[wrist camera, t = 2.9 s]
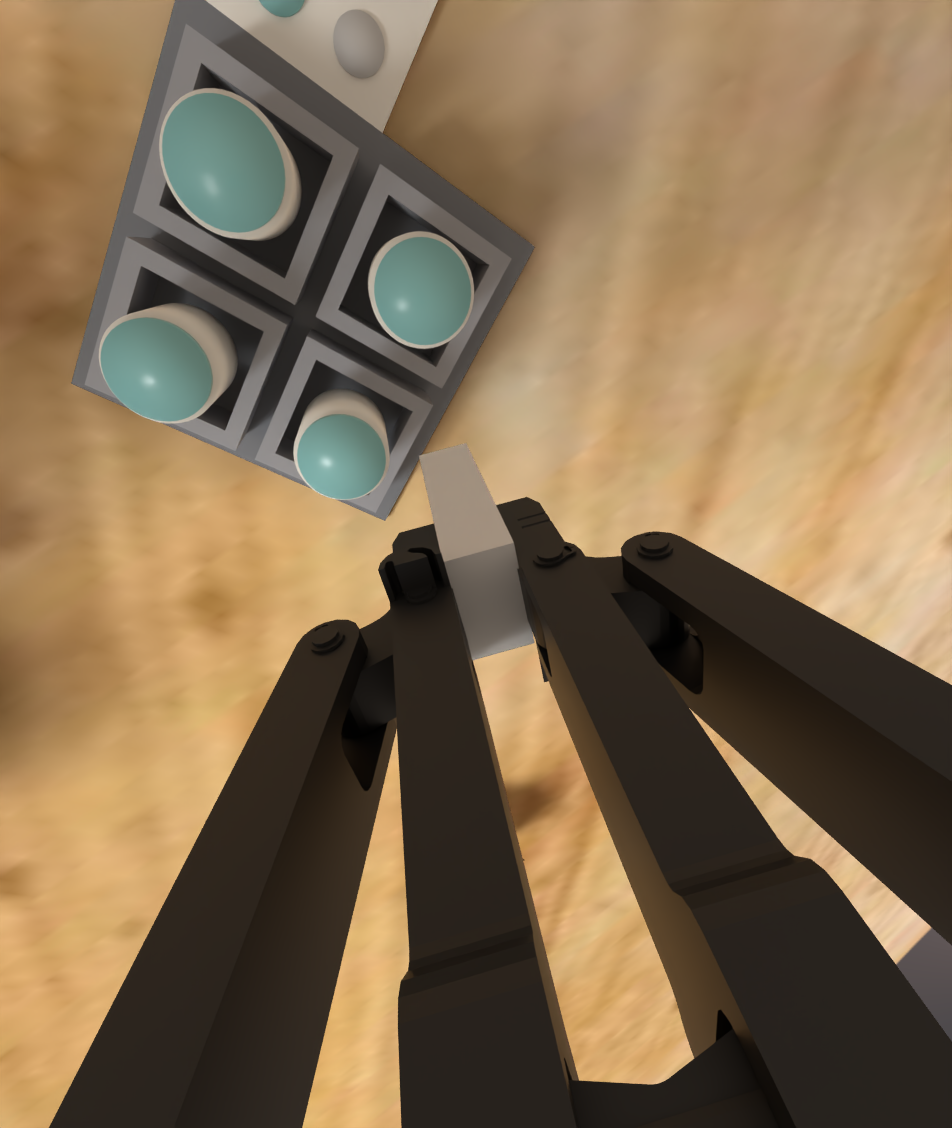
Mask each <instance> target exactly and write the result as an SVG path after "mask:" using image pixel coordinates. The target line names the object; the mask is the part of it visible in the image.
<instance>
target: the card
mask: <svg viewBox="0 0 952 1128" xmlns="http://www.w3.org/2000/svg"><path fill="white" fill-rule="evenodd" d="M206 1H207V2H208V3H209V4H211V5H212V6H213V7H215V8H216V9H217V10H219V11H220V12H221V13H223V14H224V15H225V16H227V17H228V18H230V19H231V20H232V21H234V22H235V23H236V24H238V25H239V26H240V27H242V28H243V29H244V30H246V31H247V32H248V33H250V34H251V35H252V36H254V37H255V38H256V39H258V40H259V41H260V42H262V43H263V44H264V45H266V46H267V47H268V48H270V49H271V50H272V51H274V52H275V53H276V54H278V55H279V56H280V57H282V58H283V59H284V60H286V61H287V62H288V63H290V64H291V65H292V66H294V67H295V68H296V69H298V70H299V71H300V72H302V73H303V74H304V75H306V76H307V77H308V78H310V79H311V80H312V81H314V82H315V83H316V84H318V85H319V86H320V87H322V88H323V89H324V90H326V91H327V92H328V93H330V94H331V95H332V96H334V97H335V98H336V99H338V100H339V101H340V102H342V103H343V104H345V105H346V106H347V107H349V108H350V109H351V110H353V111H354V112H355V113H357V114H358V115H359V116H361V117H362V118H363V119H365V120H366V121H367V122H369V123H370V124H371V125H373V126H374V127H375V128H377V129H378V130H379V131H381V132H382V133H383V131H384V129H385V126H386V124H387V121H388V119H389V117H390V114H391V112H392V109H393V107H394V105H395V102H396V100H397V97H398V95H399V93H400V90H401V88H402V85H403V83H404V81H405V78H406V76H407V73H408V71H409V69H410V66H411V64H412V62H413V59H414V57H415V54H416V52H417V50H418V47H419V45H420V42H421V40H422V38H423V35H424V33H425V30H426V28H427V26H428V23H429V21H430V18H431V16H432V14H433V11H434V9H435V6H436V4H437V2H438V0H206Z"/></svg>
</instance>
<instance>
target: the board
mask: <svg viewBox="0 0 952 1128" xmlns="http://www.w3.org/2000/svg"><path fill="white" fill-rule="evenodd" d="M203 88H216V89H223V90H226V91H229V92H232V93H235V94H237V95H239V96H241V97H243V98H244V99H246V100H248V101H249V102H250V103H252V104H253V105H254V106H255V107H257V108H258V109H259V110H260V111H261V112H262V113H263V114H264V115H265V116H266V117H267V119H268V120H269V121H270V122H271V124H272V125H273V126H274V128H275V129H276V131H277V132H278V134H279V135H280V137H281V138H282V140H283V141H284V143H285V144H286V146H287V147H288V149H289V150H290V152H291V154H292V156H293V157H294V159H295V162H296V164H297V167H298V170H299V174H300V178H301V186H302V198H301V204H300V208H299V212H298V214H297V216H296V219H295V220H294V222H293V223H292V225H291V226H290V227H289V228H288V229H287V230H286V231H285V232H284V233H283V234H281V235H279V236H277V237H275V238H273V239H269V240H264V241H254V240H244V239H235V238H229V237H224V236H221V235H219V234H216V233H214V232H212V231H210V230H208V229H206V228H205V227H203V226H202V225H200V224H199V223H198V222H196V221H195V220H194V219H193V218H192V217H191V216H190V215H189V214H188V213H187V212H186V211H185V210H184V209H183V208H182V207H181V205H180V204H179V203H178V201H177V200H176V198H175V197H174V195H173V194H172V192H171V190H170V188H169V186H168V184H167V181H166V179H165V176H164V173H163V169H162V166H161V160H160V152H159V140H160V132H161V127H162V124H163V121H164V119H165V116H166V114H167V113H168V111H169V109H170V108H171V107H172V105H173V104H174V103H175V102H176V101H177V100H178V99H179V98H181V97H182V96H184V95H185V94H187V93H189V92H192V91H194V90H198V89H203ZM416 231H423V232H430V233H434V234H437V235H439V236H441V237H443V238H445V239H447V240H448V241H449V242H451V243H452V244H453V245H454V246H455V247H456V248H457V249H458V250H459V251H460V252H461V254H462V255H463V256H464V258H465V260H466V262H467V263H468V266H469V268H470V271H471V274H472V278H473V284H474V301H473V307H472V310H471V313H470V316H469V318H468V320H467V322H466V324H465V326H464V327H463V329H462V330H461V331H460V332H459V333H458V334H457V335H456V336H455V337H454V338H453V339H451V340H450V341H449V342H447V343H445V344H443V345H440V346H438V347H434V348H427V349H421V348H414V347H410V346H407V345H404V344H402V343H400V342H398V341H397V340H395V339H394V338H393V337H391V336H390V335H389V334H388V333H387V332H386V331H385V330H384V329H383V327H382V326H381V324H380V323H379V322H378V320H377V318H376V316H375V314H374V311H373V308H372V305H371V301H370V297H369V292H368V273H369V268H370V265H371V262H372V260H373V258H374V256H375V254H376V253H377V252H378V250H379V249H380V248H381V247H382V246H383V245H384V244H385V243H386V242H388V241H389V240H391V239H393V238H395V237H398V236H400V235H403V234H405V233H409V232H416ZM534 248H535V247H534V246H533V245H532V244H530V243H529V242H528V241H526V240H525V239H524V238H522V237H521V236H520V235H518V234H517V233H516V232H514V231H513V230H512V229H510V228H509V227H508V226H506V225H505V224H504V223H502V222H501V221H500V220H498V219H497V218H496V217H494V216H493V215H492V214H490V213H489V212H488V211H486V210H485V209H484V208H482V207H481V206H480V205H478V204H477V203H476V202H474V201H473V200H472V199H470V198H469V197H468V196H466V195H465V194H464V193H462V192H461V191H460V190H458V189H457V188H455V187H454V186H453V185H451V184H450V183H449V182H447V181H446V180H445V179H443V178H442V177H441V176H439V175H438V174H437V173H435V172H434V171H433V170H431V169H430V168H429V167H427V166H426V165H425V164H423V163H422V162H421V161H419V160H418V159H417V158H415V157H414V156H413V155H411V154H410V153H409V152H407V151H406V150H405V149H403V148H402V147H401V146H399V145H398V144H397V143H395V142H394V141H393V140H391V139H390V138H389V137H387V136H386V135H385V134H383V133H382V132H381V131H379V130H378V129H377V128H375V127H374V126H373V125H371V124H370V123H369V122H367V121H366V120H365V119H363V118H362V117H361V116H359V115H358V114H357V113H355V112H354V111H353V110H351V109H350V108H349V107H347V106H346V105H345V104H343V103H342V102H340V101H339V100H338V99H336V98H335V97H334V96H332V95H331V94H330V93H328V92H327V91H326V90H324V89H323V88H322V87H320V86H319V85H318V84H316V83H315V82H314V81H312V80H311V79H310V78H308V77H307V76H306V75H304V74H303V73H302V72H300V71H299V70H298V69H296V68H295V67H294V66H292V65H291V64H290V63H288V62H287V61H286V60H284V59H283V58H282V57H280V56H279V55H278V54H276V53H275V52H274V51H272V50H271V49H270V48H268V47H267V46H266V45H264V44H263V43H262V42H260V41H259V40H258V39H256V38H255V37H254V36H252V35H251V34H250V33H248V32H247V31H246V30H244V29H243V28H242V27H240V26H239V25H238V24H236V23H235V22H234V21H232V20H231V19H230V18H228V17H227V16H225V15H224V14H223V13H221V12H220V11H219V10H217V9H216V8H215V7H213V6H212V5H211V4H209V3H208V2H207V1H205V0H175V3H174V6H173V10H172V14H171V18H170V21H169V25H168V29H167V32H166V36H165V40H164V43H163V47H162V51H161V54H160V58H159V62H158V65H157V69H156V73H155V77H154V80H153V84H152V88H151V91H150V95H149V99H148V102H147V106H146V110H145V113H144V117H143V121H142V124H141V128H140V132H139V135H138V139H137V143H136V147H135V150H134V154H133V158H132V161H131V165H130V169H129V172H128V176H127V180H126V183H125V187H124V191H123V194H122V198H121V202H120V206H119V209H118V213H117V217H116V220H115V224H114V228H113V231H112V235H111V239H110V242H109V246H108V250H107V253H106V257H105V261H104V264H103V268H102V272H101V276H100V279H99V283H98V287H97V290H96V294H95V298H94V301H93V305H92V309H91V312H90V316H89V320H88V323H87V327H86V331H85V335H84V338H83V342H82V346H81V349H80V353H79V357H78V360H77V364H76V368H75V371H74V375H73V379H72V382H71V384H73V385H76V386H78V387H80V388H82V389H85V390H87V391H89V392H92V393H94V394H96V395H98V396H101V397H103V398H105V399H108V400H110V401H112V402H115V403H117V404H119V405H121V406H124V407H126V406H125V405H124V404H123V403H122V402H121V401H120V400H119V399H118V398H117V397H116V396H115V395H114V394H113V392H112V391H111V390H110V388H109V387H108V385H107V383H106V381H105V379H104V377H103V374H102V372H101V368H100V363H99V347H100V342H101V339H102V337H103V335H104V333H105V331H106V330H107V328H108V327H109V326H110V325H111V324H112V323H113V322H114V321H116V320H117V319H119V318H121V317H122V316H125V315H128V314H130V313H134V312H138V311H142V310H145V309H149V308H153V307H156V306H160V305H164V304H168V303H185V304H190V305H193V306H196V307H199V308H201V309H203V310H205V311H207V312H208V313H210V314H211V315H213V316H214V317H215V318H216V319H217V320H218V321H220V322H221V323H222V325H223V326H224V327H225V328H226V330H227V331H228V332H229V334H230V336H231V338H232V340H233V342H234V344H235V347H236V351H237V357H238V366H237V372H236V375H235V378H234V380H233V382H232V383H231V385H230V386H229V387H228V388H227V389H226V390H225V391H224V392H223V393H222V394H221V395H220V397H219V398H218V399H217V400H216V401H215V402H214V403H213V404H212V405H211V406H210V407H209V408H208V409H207V410H206V411H205V412H204V413H203V414H201V415H200V416H199V417H197V418H195V419H193V420H190V421H187V422H183V423H175V424H172V423H163V424H165V425H167V426H169V427H172V428H174V429H176V430H179V431H181V432H183V433H185V434H188V435H190V436H192V437H195V438H197V439H199V440H201V441H204V442H206V443H208V444H211V445H213V446H215V447H217V448H220V449H222V450H224V451H227V452H229V453H231V454H233V455H236V456H238V457H240V458H243V459H245V460H247V461H249V462H252V463H254V464H256V465H259V466H261V467H263V468H265V469H268V470H270V471H272V472H275V473H277V474H279V475H281V476H284V477H286V478H288V479H291V480H293V481H295V482H297V483H300V484H302V485H304V486H307V487H309V486H308V485H307V484H306V483H305V481H304V480H303V479H302V477H301V476H300V474H299V472H298V471H297V468H296V465H295V461H294V454H293V451H294V443H295V439H296V436H297V433H298V430H299V427H300V424H301V421H302V418H303V415H304V413H305V410H306V408H307V406H308V405H309V404H310V402H311V401H312V400H313V399H314V398H315V397H317V396H318V395H319V394H321V393H323V392H325V391H328V390H332V389H339V388H342V389H351V390H354V391H357V392H360V393H362V394H363V395H365V396H367V397H368V398H369V399H371V400H372V401H373V402H374V403H375V404H376V406H377V407H378V408H379V410H380V412H381V413H382V416H383V418H384V422H385V427H386V433H387V440H388V446H389V453H390V461H389V467H388V471H387V473H386V476H385V477H384V479H383V481H382V482H381V483H380V485H379V486H378V487H377V488H376V489H374V490H373V491H372V492H370V493H369V494H367V495H365V496H362V497H360V498H356V499H351V500H339V501H341V502H343V503H345V504H348V505H350V506H352V507H355V508H357V509H359V510H361V511H364V512H366V513H368V514H371V515H373V516H375V517H377V518H380V519H382V520H384V521H385V520H386V518H387V516H388V515H389V513H390V511H391V509H392V507H393V506H394V504H395V502H396V500H397V498H398V496H399V495H400V493H401V491H402V489H403V487H404V485H405V484H406V482H407V480H408V478H409V476H410V474H411V473H412V471H413V469H414V467H415V465H416V463H417V462H418V460H419V455H421V454H422V453H423V451H424V449H425V447H426V445H427V443H428V442H429V440H430V438H431V436H432V434H433V432H434V431H435V429H436V427H437V425H438V423H439V421H440V420H441V418H442V416H443V414H444V412H445V410H446V409H447V407H448V405H449V403H450V401H451V400H452V398H453V396H454V394H455V392H456V390H457V389H458V387H459V385H460V383H461V381H462V379H463V378H464V376H465V374H466V372H467V370H468V368H469V367H470V365H471V363H472V361H473V359H474V357H475V356H476V354H477V352H478V350H479V348H480V347H481V345H482V343H483V341H484V339H485V337H486V336H487V334H488V332H489V330H490V328H491V326H492V325H493V323H494V321H495V319H496V317H497V315H498V314H499V312H500V310H501V308H502V306H503V304H504V303H505V301H506V299H507V297H508V295H509V293H510V292H511V290H512V288H513V286H514V284H515V283H516V281H517V279H518V277H519V275H520V273H521V272H522V270H523V268H524V266H525V264H526V262H527V261H528V259H529V257H530V255H531V253H532V251H533V250H534ZM126 408H128V407H126ZM128 409H129V408H128ZM160 423H161V422H160ZM309 488H311V487H309ZM311 489H312V488H311ZM336 500H338V499H336Z"/></svg>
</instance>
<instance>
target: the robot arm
mask: <svg viewBox="0 0 952 1128" xmlns="http://www.w3.org/2000/svg"><path fill="white" fill-rule="evenodd" d="M419 458H420V463H421V467H422V472H423V476H424V481H425V485H426V490H427V494H428V498H429V503H430V507H431V512H432V516H433V521H434V524H431V525H427V526H423V527H420V528H416V529H412V530H409V531H405V532H401V533H399V534H398V536H397V538H396V539H395V541H394V542H393V544H392V546H393V553H391V554H390V555H388V556H387V557H386V558H385V559H384V560H383V561H382V562H381V563H380V566H379V569H378V571H379V574H380V577H381V579H382V582H383V585H384V587H385V590H386V593H387V595H388V598H389V601H390V610H389V611H388V612H387V613H386V614H385V615H384V616H382V617H381V618H380V619H378V620H377V621H375V622H373V623H371V624H369V625H367V626H365V627H363V628H361V629H359V628H358V626H357V625H356V623H354V622H352V621H349V620H334V621H330V622H325V623H323V624H321V625H318V626H316V627H315V628H313V629H312V630H310V631H309V632H308V633H306V634H305V635H304V636H303V637H302V638H301V640H300V641H299V642H298V644H297V645H296V647H295V649H294V651H293V653H292V655H291V657H290V659H289V661H288V662H287V664H286V666H285V668H284V670H283V672H282V674H281V676H280V678H279V680H278V682H277V684H276V686H275V688H274V690H273V692H272V694H271V696H270V698H269V700H268V702H267V703H266V705H265V707H264V709H263V711H262V713H261V715H260V717H259V719H258V721H257V723H256V725H255V727H254V729H253V731H252V733H251V735H250V737H249V739H248V741H247V742H246V744H245V746H244V748H243V750H242V752H241V754H240V756H239V758H238V760H237V762H236V764H235V766H234V768H233V770H232V772H231V774H230V776H229V778H228V780H227V781H226V783H225V785H224V787H223V789H222V791H221V793H220V795H219V797H218V799H217V801H216V803H215V805H214V807H213V809H212V811H211V813H210V815H209V817H208V819H207V820H206V822H205V824H204V826H203V828H202V830H201V832H200V834H199V836H198V838H197V840H196V842H195V844H194V846H193V848H192V850H191V852H190V854H189V856H188V858H187V859H186V861H185V863H184V865H183V867H182V869H181V871H180V873H179V875H178V877H177V879H176V881H175V883H174V885H173V887H172V889H171V891H170V893H169V895H168V897H167V898H166V900H165V902H164V904H163V906H162V908H161V910H160V912H159V914H158V916H157V918H156V920H155V922H154V924H153V926H152V928H151V930H150V932H149V934H148V936H147V937H146V939H145V941H144V943H143V945H142V947H141V949H140V951H139V953H138V955H137V957H136V959H135V961H134V963H133V965H132V967H131V969H130V971H129V973H128V975H127V977H126V978H125V980H124V982H123V984H122V986H121V988H120V990H119V992H118V994H117V996H116V998H115V1000H114V1002H113V1004H112V1006H111V1008H110V1010H109V1012H108V1014H107V1016H106V1017H105V1019H104V1021H103V1023H102V1025H101V1027H100V1029H99V1031H98V1033H97V1035H96V1037H95V1039H94V1041H93V1043H92V1045H91V1047H90V1049H89V1051H88V1053H87V1055H86V1056H85V1058H84V1060H83V1062H82V1064H81V1066H80V1068H79V1070H78V1072H77V1074H76V1076H75V1078H74V1080H73V1082H72V1084H71V1086H70V1088H69V1090H68V1092H67V1094H66V1095H65V1097H64V1099H63V1101H62V1103H61V1105H60V1107H59V1109H58V1111H57V1113H56V1115H55V1117H54V1119H53V1121H52V1123H51V1125H50V1127H49V1128H302V1126H303V1122H304V1118H305V1113H306V1109H307V1105H308V1101H309V1097H310V1092H311V1088H312V1084H313V1080H314V1075H315V1071H316V1067H317V1063H318V1059H319V1054H320V1050H321V1046H322V1042H323V1037H324V1033H325V1029H326V1025H327V1021H328V1016H329V1012H330V1008H331V1004H332V999H333V995H334V991H335V987H336V983H337V978H338V974H339V970H340V966H341V961H342V957H343V953H344V949H345V945H346V940H347V936H348V932H349V928H350V924H351V919H352V915H353V911H354V907H355V902H356V898H357V894H358V890H359V886H360V881H361V877H362V873H363V869H364V864H365V860H366V856H367V852H368V848H369V843H370V839H371V835H372V831H373V826H374V822H375V818H376V814H377V810H378V805H379V801H380V797H381V793H382V788H383V784H384V780H385V776H386V772H387V767H388V763H389V759H390V755H391V750H392V746H393V742H394V738H395V734H396V729H397V736H398V754H399V772H400V790H401V808H402V826H403V844H404V862H405V880H406V898H407V916H408V934H409V968H408V972H407V973H406V975H405V976H404V978H403V979H402V980H401V984H400V990H399V997H398V1040H399V1069H400V1097H401V1125H402V1128H952V1041H951V1040H950V1039H949V1037H948V1036H947V1035H946V1033H945V1032H944V1030H943V1029H942V1028H941V1026H940V1025H939V1023H938V1022H937V1021H936V1019H935V1018H934V1017H933V1015H932V1014H931V1012H930V1011H929V1010H928V1008H927V1007H926V1006H925V1004H924V1003H923V1002H922V1000H921V999H920V997H919V996H918V995H917V993H916V992H915V990H914V989H913V988H912V986H911V985H910V983H909V982H908V981H907V980H906V978H905V977H904V975H903V974H902V972H901V971H900V970H899V968H898V967H897V966H896V964H895V963H894V961H893V960H892V959H891V957H890V956H889V955H888V953H887V952H886V950H885V949H884V948H883V946H882V945H881V944H880V942H879V941H878V939H877V938H876V937H875V935H874V934H873V933H872V931H871V930H870V928H869V927H868V926H867V924H866V923H865V922H864V920H863V919H862V917H861V916H860V915H859V913H858V912H857V911H856V909H855V908H854V906H853V905H852V904H851V902H850V901H849V900H848V898H847V897H846V895H845V894H844V893H843V891H842V890H841V889H840V888H839V886H838V885H837V884H836V883H835V882H834V881H833V879H832V878H831V877H830V876H829V875H828V873H827V872H826V871H825V870H824V869H823V868H821V867H820V866H819V865H818V864H816V863H815V862H814V861H813V860H811V859H808V858H803V857H798V856H794V855H793V854H792V853H790V852H789V851H788V850H787V849H786V848H785V847H784V845H783V844H782V843H781V842H780V840H779V839H778V838H777V836H776V835H775V833H774V832H773V830H772V829H771V828H770V826H769V825H768V823H767V822H766V820H765V819H764V817H763V816H762V814H761V813H760V811H759V810H758V808H757V807H756V806H755V804H754V803H753V801H752V800H751V798H750V797H749V795H748V794H747V792H746V791H745V789H744V788H743V787H742V785H741V784H740V782H739V781H738V779H737V778H736V776H735V775H734V773H733V772H732V770H731V769H730V767H729V766H728V765H727V763H726V762H725V760H724V759H723V757H722V756H721V754H720V753H719V751H718V750H717V748H716V747H715V746H714V744H713V743H712V741H711V740H710V738H709V737H708V735H707V734H706V732H705V731H704V729H703V728H702V726H701V725H700V724H699V722H698V721H697V719H696V718H695V716H694V715H693V713H692V712H691V710H692V711H693V712H694V713H695V714H697V715H698V716H699V717H700V718H701V719H702V720H703V721H704V722H705V723H706V724H708V725H709V726H710V727H711V728H712V729H713V730H714V731H715V732H716V733H718V734H719V735H720V736H721V737H722V738H723V739H724V740H725V741H726V742H727V743H729V744H730V745H731V746H732V747H733V748H734V749H735V750H736V751H737V752H739V753H740V754H741V755H742V756H743V757H744V758H745V759H746V760H747V761H748V762H750V763H751V764H752V765H753V766H754V767H755V768H756V769H757V770H758V771H760V772H761V773H762V774H763V775H764V776H765V777H766V778H767V779H768V780H770V781H771V782H772V783H773V784H774V785H775V786H776V787H777V788H778V789H779V790H781V791H782V792H783V793H784V794H785V795H786V796H787V797H788V798H789V799H791V800H792V801H793V802H794V803H795V804H796V805H797V806H798V807H799V808H800V809H802V810H803V811H804V812H805V813H806V814H807V815H808V816H809V817H810V818H812V819H813V820H814V821H815V822H816V823H817V824H818V825H819V826H820V827H821V828H823V829H824V830H825V831H826V832H827V833H828V834H829V835H830V836H831V837H833V838H834V839H835V840H836V841H837V842H838V843H839V844H840V845H841V846H842V847H844V848H845V849H846V850H847V851H848V852H849V853H850V854H851V855H852V856H854V857H855V858H856V859H857V860H858V861H859V862H860V863H861V864H862V865H863V866H865V867H866V868H867V869H868V870H869V871H870V872H871V873H872V874H873V875H875V876H876V877H877V878H878V879H879V880H880V881H881V882H882V883H883V884H884V885H886V886H887V887H888V888H889V889H890V890H891V891H892V892H893V893H894V894H896V895H897V896H898V897H899V898H900V899H901V900H902V901H903V902H904V903H905V904H907V905H908V906H909V907H910V908H911V909H912V910H913V911H914V912H915V913H917V914H918V915H919V916H920V917H921V918H922V919H923V920H924V921H925V922H926V923H928V924H929V925H930V926H931V927H932V928H933V929H934V930H936V932H938V933H939V934H940V935H941V936H942V937H943V938H944V939H946V941H947V942H949V943H950V944H951V945H952V685H951V684H949V683H947V682H945V681H943V680H941V679H940V678H938V677H936V676H934V675H932V674H930V673H929V672H927V671H925V670H923V669H921V668H920V667H918V666H916V665H914V664H912V663H910V662H909V661H907V660H905V659H903V658H901V657H899V656H898V655H896V654H894V653H892V652H890V651H889V650H887V649H885V648H883V647H881V646H879V645H878V644H876V643H874V642H872V641H870V640H868V639H867V638H865V637H863V636H861V635H859V634H857V633H856V632H854V631H852V630H850V629H848V628H847V627H845V626H843V625H841V624H839V623H837V622H836V621H834V620H832V619H830V618H828V617H826V616H825V615H823V614H821V613H819V612H817V611H816V610H814V609H812V608H810V607H808V606H806V605H805V604H803V603H801V602H799V601H797V600H795V599H794V598H792V597H790V596H788V595H786V594H785V593H783V592H781V591H779V590H777V589H775V588H774V587H772V586H770V585H768V584H766V583H764V582H763V581H761V580H759V579H757V578H755V577H754V576H752V575H750V574H748V573H746V572H744V571H743V570H741V569H739V568H737V567H735V566H733V565H732V564H730V563H728V562H726V561H724V560H722V559H721V558H719V557H717V556H715V555H713V554H712V553H710V552H708V551H706V550H704V549H702V548H701V547H699V546H697V545H695V544H693V543H691V542H690V541H688V540H686V539H684V538H682V537H680V536H677V535H675V534H672V533H666V532H647V533H643V534H640V535H636V536H634V537H632V538H630V539H629V540H627V541H626V542H625V543H624V544H623V546H622V547H621V553H622V556H617V557H602V558H594V557H586V556H585V555H584V554H583V552H582V551H581V549H579V548H578V547H577V546H576V545H574V544H571V543H568V542H565V541H564V540H563V538H562V537H561V535H560V534H559V532H558V531H557V529H556V528H555V526H554V525H553V523H552V521H550V518H549V517H548V515H547V514H546V513H545V511H544V509H543V508H542V506H541V505H540V503H539V502H536V501H534V500H532V499H530V498H528V497H525V498H521V499H518V500H514V501H510V502H507V503H503V504H499V505H496V504H495V502H494V500H493V498H492V496H491V494H490V492H489V490H488V488H487V486H486V484H485V481H484V479H483V477H482V475H481V473H480V471H479V469H478V467H477V465H476V463H475V461H474V459H473V456H472V454H471V452H470V450H469V448H468V446H467V444H466V443H464V444H461V445H457V446H453V447H449V448H446V449H442V450H438V451H434V452H431V453H427V454H423V455H419ZM532 632H533V634H534V637H535V639H536V644H537V649H538V654H539V659H540V664H541V669H542V674H543V679H544V682H547V681H549V683H550V686H551V688H552V690H553V693H554V695H555V698H556V700H557V703H558V705H559V708H560V710H561V713H562V715H563V718H564V720H565V723H566V725H567V728H568V730H569V733H570V735H571V738H572V740H573V743H574V745H575V748H576V750H577V753H578V755H579V758H580V760H581V763H582V765H583V767H584V770H585V772H586V775H587V777H588V780H589V782H590V785H591V787H592V790H593V792H594V795H595V797H596V800H597V802H598V805H599V807H600V810H601V812H602V815H603V817H604V820H605V822H606V825H607V827H608V830H609V832H610V835H611V837H612V840H613V842H614V844H615V847H616V849H617V852H618V854H619V857H620V859H621V862H622V864H623V867H624V869H625V872H626V874H627V877H628V879H629V882H630V884H631V887H632V889H633V892H634V894H635V897H636V899H637V902H638V904H639V907H640V909H641V912H642V914H643V917H644V919H645V921H646V924H647V926H648V929H649V931H650V934H651V936H652V939H653V941H654V944H655V946H656V949H657V951H658V954H659V956H660V959H661V961H662V964H663V966H664V969H665V971H666V974H667V976H668V979H669V981H670V984H671V987H672V989H673V992H674V995H675V998H676V1001H677V1005H678V1008H679V1012H680V1015H681V1019H682V1023H683V1026H684V1030H685V1033H686V1036H687V1039H688V1042H689V1045H690V1048H691V1050H692V1053H693V1056H694V1058H695V1059H693V1060H692V1061H691V1062H689V1063H688V1064H687V1065H686V1066H684V1067H683V1068H682V1069H680V1070H679V1071H678V1072H677V1073H675V1074H674V1075H673V1076H671V1077H670V1078H669V1079H667V1080H666V1081H664V1082H662V1083H659V1084H653V1085H647V1084H629V1083H611V1082H593V1081H579V1079H578V1075H577V1071H576V1068H575V1064H574V1060H573V1056H572V1053H571V1049H570V1045H569V1042H568V1038H567V1034H566V1031H565V1027H564V1023H563V1019H562V1015H561V1011H560V1007H559V1003H558V999H557V995H556V991H555V987H554V983H553V979H552V975H551V971H550V967H549V963H548V959H547V955H546V951H545V947H544V943H543V939H542V935H541V931H540V927H539V923H538V919H537V915H536V911H535V907H534V903H533V899H532V895H531V891H530V887H529V883H528V879H527V875H526V871H525V867H524V863H523V859H522V855H521V851H520V847H519V842H518V838H517V834H516V830H515V826H514V822H513V818H512V814H511V810H510V806H509V802H508V798H507V794H506V790H505V786H504V782H503V778H502V774H501V770H500V766H499V762H498V758H497V754H496V750H495V746H494V742H493V738H492V734H491V730H490V726H489V722H488V718H487V714H486V710H485V706H484V702H483V698H482V694H481V690H480V686H479V682H478V678H477V674H476V671H475V667H474V664H473V660H475V659H479V658H482V657H486V656H490V655H493V654H497V653H500V652H504V651H508V650H511V649H515V648H518V647H522V646H525V645H529V644H533V643H534V639H533V634H532ZM689 708H690V709H691V710H690V709H689Z"/></svg>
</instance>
